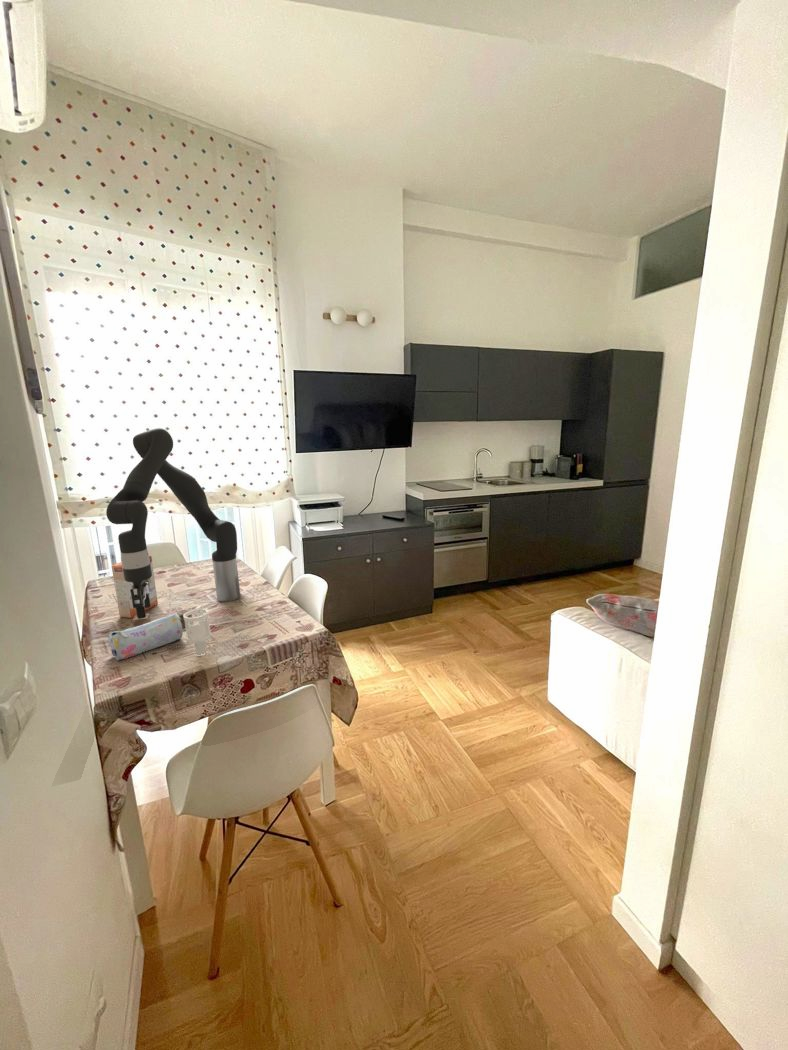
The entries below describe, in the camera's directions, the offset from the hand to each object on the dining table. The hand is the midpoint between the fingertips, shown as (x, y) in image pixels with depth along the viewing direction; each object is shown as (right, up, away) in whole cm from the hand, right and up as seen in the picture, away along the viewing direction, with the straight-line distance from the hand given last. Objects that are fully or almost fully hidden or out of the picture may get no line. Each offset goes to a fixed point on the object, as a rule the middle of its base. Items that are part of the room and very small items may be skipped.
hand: (144, 612), depth 137 cm
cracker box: (-21, -6, +33) cm, 39 cm away
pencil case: (-1, -13, +3) cm, 13 cm away
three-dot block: (-11, -9, +18) cm, 23 cm away
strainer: (+19, -13, -1) cm, 23 cm away
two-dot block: (+3, -8, +21) cm, 22 cm away
